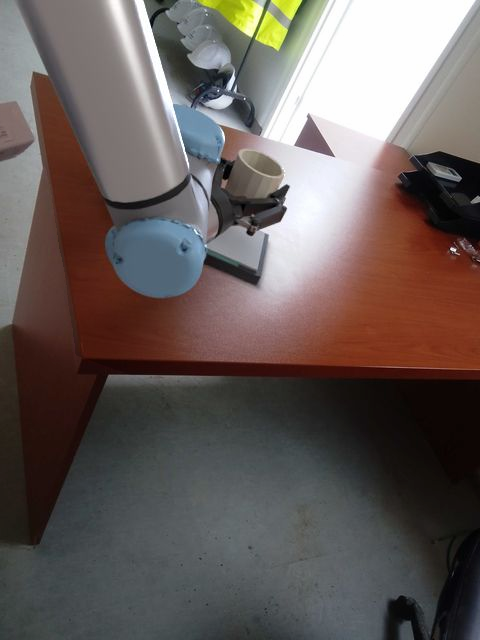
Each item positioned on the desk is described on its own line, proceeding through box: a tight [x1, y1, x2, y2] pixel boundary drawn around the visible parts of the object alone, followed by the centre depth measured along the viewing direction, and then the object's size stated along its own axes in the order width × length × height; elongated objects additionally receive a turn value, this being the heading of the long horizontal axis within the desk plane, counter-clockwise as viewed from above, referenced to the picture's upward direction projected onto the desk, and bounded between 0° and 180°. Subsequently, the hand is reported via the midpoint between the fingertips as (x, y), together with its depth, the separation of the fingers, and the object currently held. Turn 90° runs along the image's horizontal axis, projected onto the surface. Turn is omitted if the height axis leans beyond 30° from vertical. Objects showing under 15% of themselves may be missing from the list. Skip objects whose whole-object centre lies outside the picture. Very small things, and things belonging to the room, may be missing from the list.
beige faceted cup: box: [223, 147, 286, 228], centre depth 77 cm, size 8×8×10 cm
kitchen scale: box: [203, 226, 270, 286], centre depth 85 cm, size 15×15×2 cm
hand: (264, 177), depth 80 cm, fingers closed on beige faceted cup, 8 cm apart
